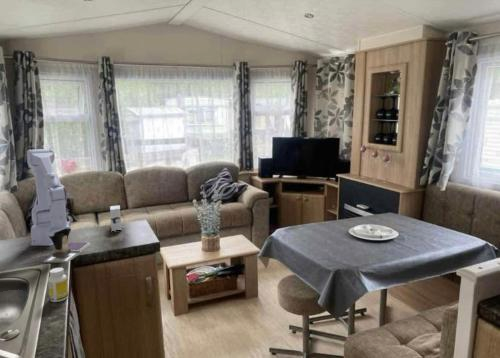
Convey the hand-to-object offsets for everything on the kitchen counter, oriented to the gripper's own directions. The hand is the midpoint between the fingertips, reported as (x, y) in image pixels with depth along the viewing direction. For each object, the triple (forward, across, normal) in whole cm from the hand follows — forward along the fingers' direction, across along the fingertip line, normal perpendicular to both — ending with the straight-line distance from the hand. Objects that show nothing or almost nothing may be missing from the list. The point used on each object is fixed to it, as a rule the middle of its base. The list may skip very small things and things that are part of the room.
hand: (61, 247), depth 154 cm
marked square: (+4, 0, 0) cm, 4 cm away
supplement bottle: (+5, -34, -17) cm, 39 cm away
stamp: (+3, 0, 0) cm, 3 cm away
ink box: (+5, +40, -8) cm, 41 cm away
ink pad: (+4, +10, 0) cm, 11 cm away
